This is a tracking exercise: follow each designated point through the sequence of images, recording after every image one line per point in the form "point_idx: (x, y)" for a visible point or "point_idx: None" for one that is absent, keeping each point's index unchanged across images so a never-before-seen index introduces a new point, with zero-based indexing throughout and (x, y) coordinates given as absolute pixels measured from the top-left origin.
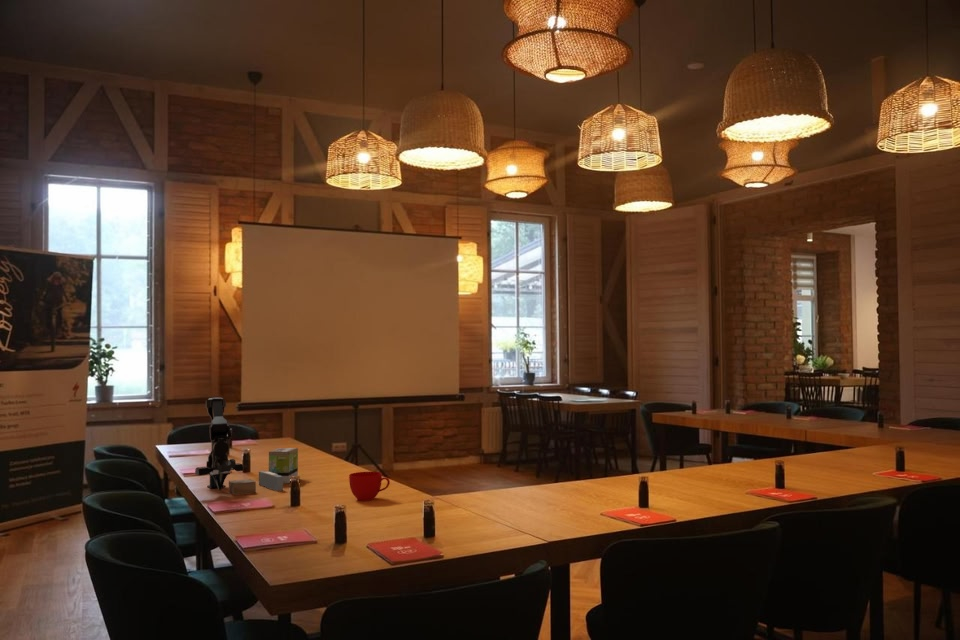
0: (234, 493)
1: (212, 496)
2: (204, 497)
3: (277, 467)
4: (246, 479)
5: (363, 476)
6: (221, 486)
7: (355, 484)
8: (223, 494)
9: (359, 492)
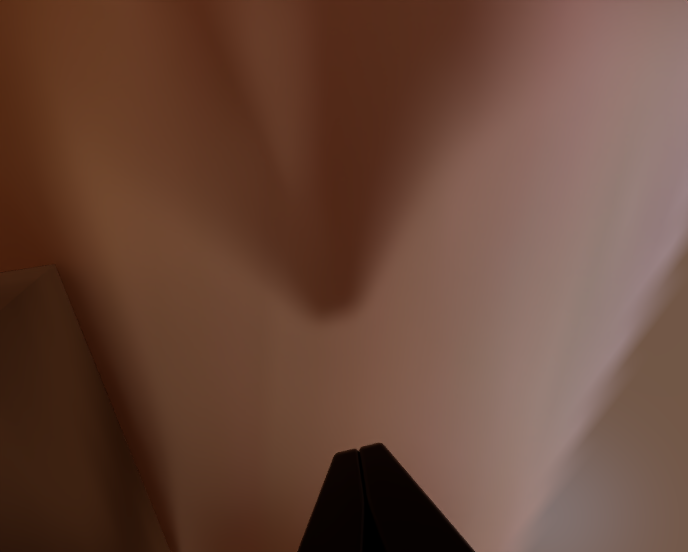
0: (28, 279)
1: (491, 340)
2: (638, 307)
3: None
4: None
5: None
6: (336, 508)
7: None
8: (279, 444)
9: None
